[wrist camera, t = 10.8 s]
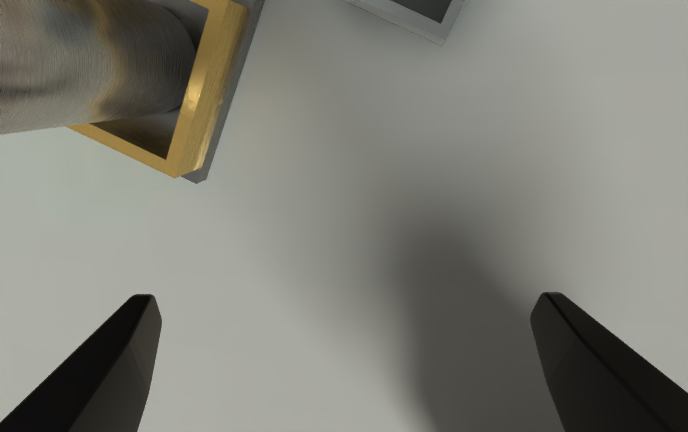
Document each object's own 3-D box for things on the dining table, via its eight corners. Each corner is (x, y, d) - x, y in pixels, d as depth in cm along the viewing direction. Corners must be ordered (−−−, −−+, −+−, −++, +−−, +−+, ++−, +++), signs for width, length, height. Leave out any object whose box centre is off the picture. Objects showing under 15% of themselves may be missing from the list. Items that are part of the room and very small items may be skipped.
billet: (199, 117, 20) (-146, 176, 8) (103, 110, 21) (-356, 155, 8) (193, 2, 18) (-244, -153, 6) (90, -1, 19) (-493, -149, 7)
